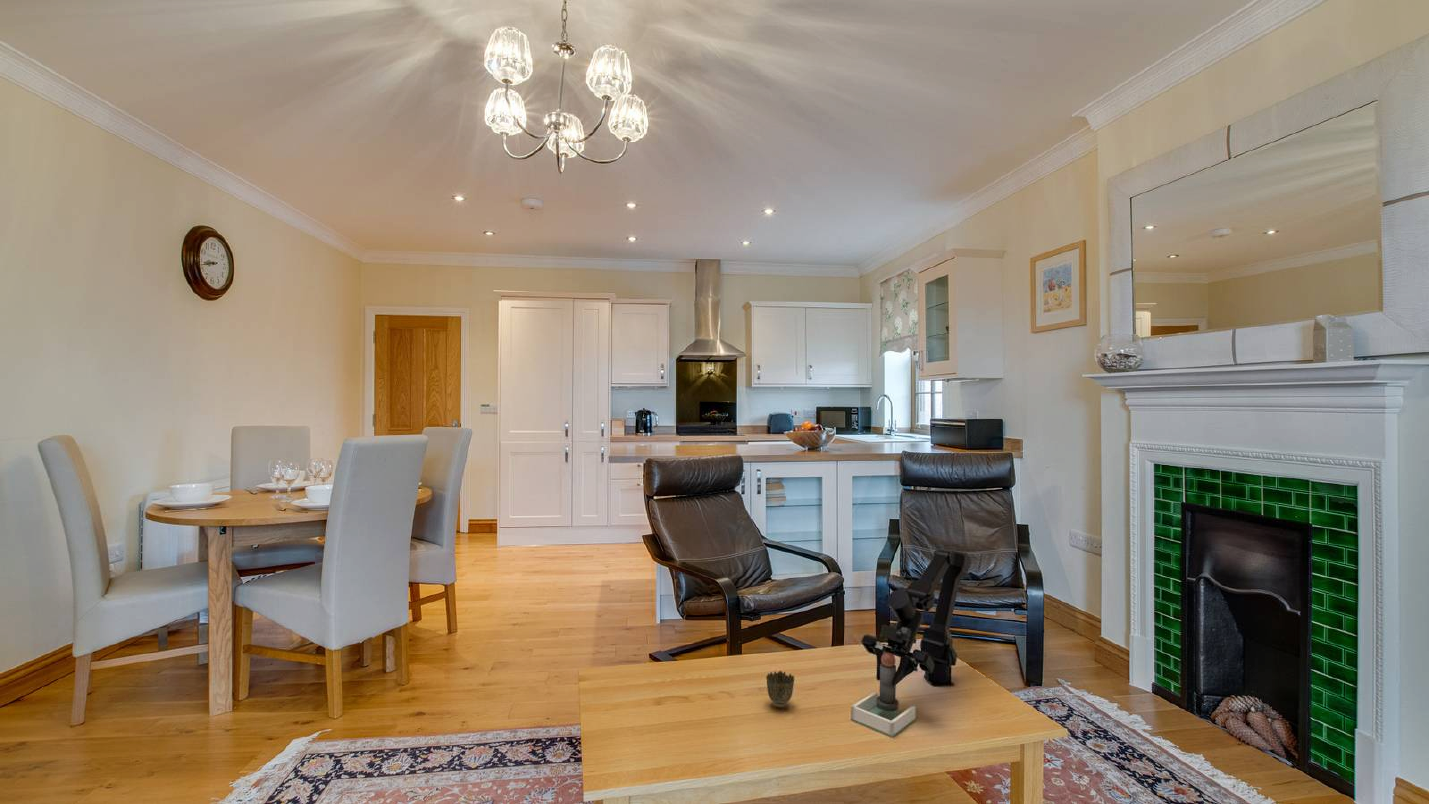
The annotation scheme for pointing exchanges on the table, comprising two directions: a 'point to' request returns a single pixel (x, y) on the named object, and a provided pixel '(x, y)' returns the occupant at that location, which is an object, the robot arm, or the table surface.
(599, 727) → the table surface
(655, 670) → the table surface
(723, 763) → the table surface
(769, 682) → the cup
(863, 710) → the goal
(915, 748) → the table surface
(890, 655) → the player figure
